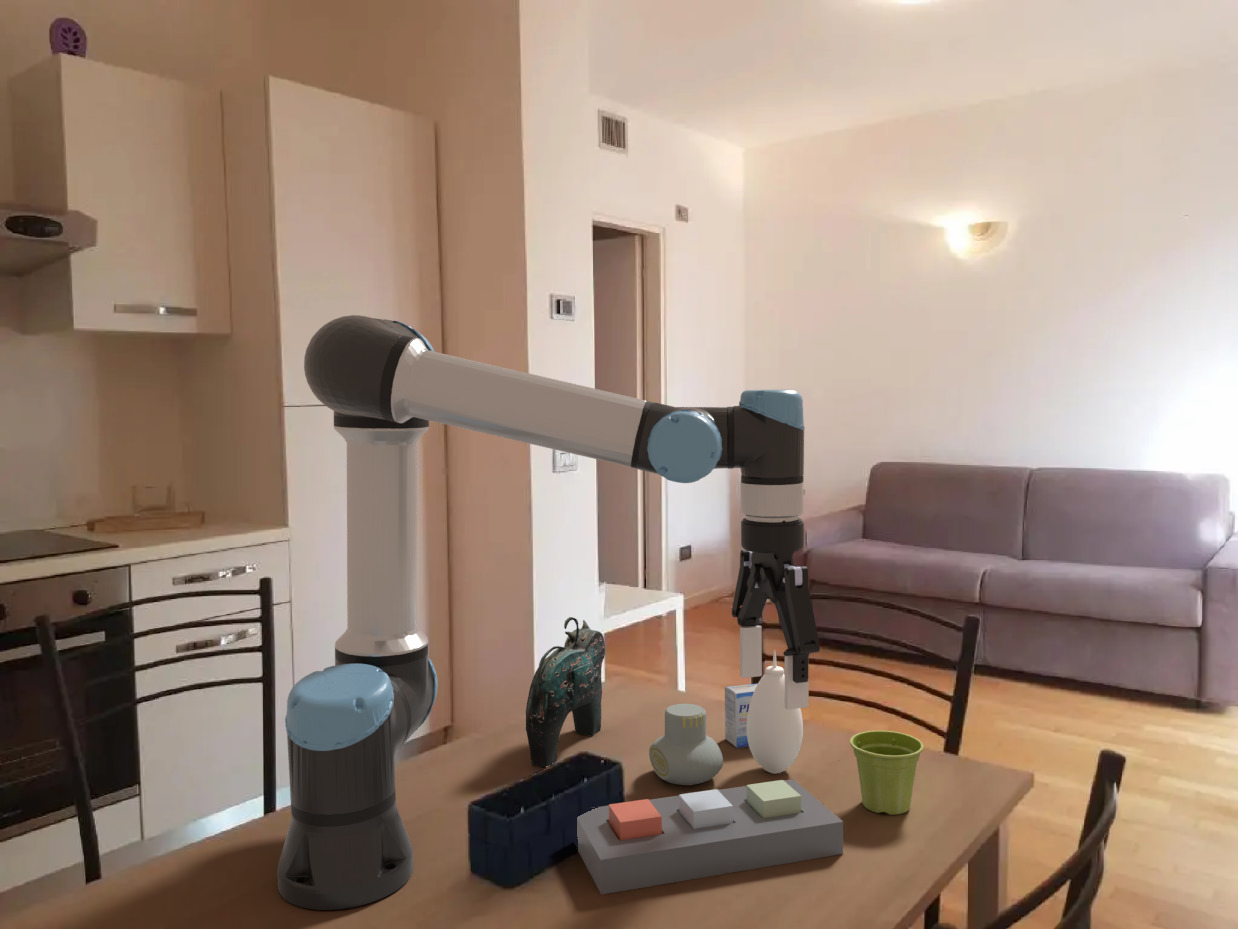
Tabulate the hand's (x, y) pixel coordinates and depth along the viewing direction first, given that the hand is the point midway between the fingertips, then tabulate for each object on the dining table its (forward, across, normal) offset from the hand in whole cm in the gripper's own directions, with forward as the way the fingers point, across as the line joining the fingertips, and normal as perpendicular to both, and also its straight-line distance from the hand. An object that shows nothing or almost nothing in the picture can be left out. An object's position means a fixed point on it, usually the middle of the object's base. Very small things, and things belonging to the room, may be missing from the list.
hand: (772, 691), depth 119 cm
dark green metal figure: (+19, +37, +17) cm, 45 cm away
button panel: (+18, 0, +9) cm, 21 cm away
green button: (+15, 0, 0) cm, 15 cm away
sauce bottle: (+19, +18, -9) cm, 28 cm away
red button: (+15, 0, +18) cm, 24 cm away
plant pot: (+19, +3, -18) cm, 26 cm away
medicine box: (+19, +30, -11) cm, 37 cm away
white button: (+15, 0, +9) cm, 18 cm away
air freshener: (+19, +20, +4) cm, 28 cm away
